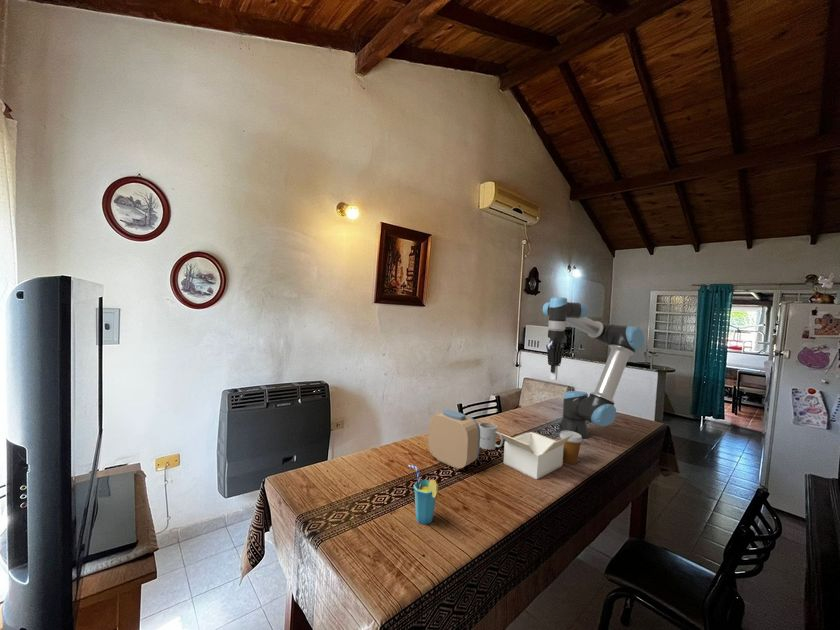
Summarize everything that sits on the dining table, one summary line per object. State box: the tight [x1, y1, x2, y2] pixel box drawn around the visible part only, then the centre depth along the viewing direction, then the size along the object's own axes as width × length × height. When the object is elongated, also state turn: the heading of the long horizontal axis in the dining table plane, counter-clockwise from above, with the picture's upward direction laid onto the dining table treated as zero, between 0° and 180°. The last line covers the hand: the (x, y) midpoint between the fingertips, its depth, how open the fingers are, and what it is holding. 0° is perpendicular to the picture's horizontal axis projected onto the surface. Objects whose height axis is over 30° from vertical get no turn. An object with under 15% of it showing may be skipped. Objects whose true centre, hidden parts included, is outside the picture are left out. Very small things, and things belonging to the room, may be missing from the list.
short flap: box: [500, 432, 534, 454], centre depth 135 cm, size 6×13×1 cm
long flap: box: [543, 435, 573, 454], centre depth 135 cm, size 15×7×1 cm
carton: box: [503, 431, 564, 481], centre depth 144 cm, size 21×17×10 cm
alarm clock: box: [427, 409, 481, 471], centre depth 142 cm, size 21×10×22 cm, turn 47°
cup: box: [407, 464, 439, 525], centre depth 105 cm, size 14×8×15 cm, turn 46°
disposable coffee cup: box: [558, 431, 583, 465], centre depth 150 cm, size 10×10×12 cm
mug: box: [478, 421, 504, 451], centre depth 160 cm, size 12×9×10 cm
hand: (553, 379), depth 158 cm, fingers closed
